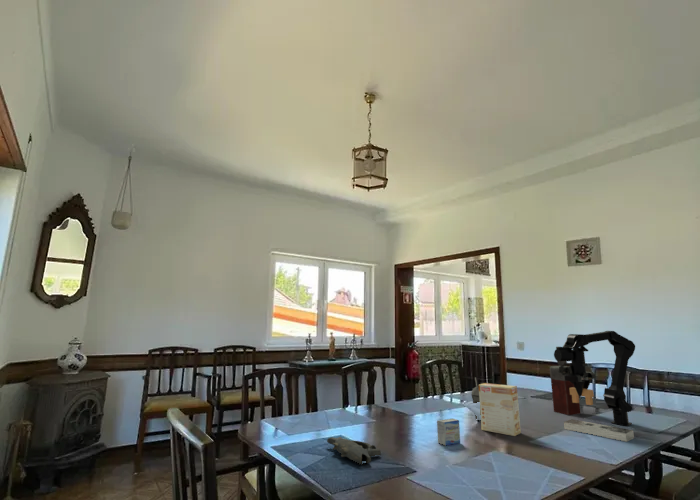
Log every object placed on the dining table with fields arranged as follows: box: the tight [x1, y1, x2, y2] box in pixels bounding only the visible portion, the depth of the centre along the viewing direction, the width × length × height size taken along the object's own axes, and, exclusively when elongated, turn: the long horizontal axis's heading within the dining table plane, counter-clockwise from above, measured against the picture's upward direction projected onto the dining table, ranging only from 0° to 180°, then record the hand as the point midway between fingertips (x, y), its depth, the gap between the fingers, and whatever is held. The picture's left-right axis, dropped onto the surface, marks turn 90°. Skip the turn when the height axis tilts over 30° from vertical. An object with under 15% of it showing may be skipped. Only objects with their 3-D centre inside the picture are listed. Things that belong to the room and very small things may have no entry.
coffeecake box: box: [478, 382, 522, 437], centre depth 172 cm, size 15×7×20 cm, turn 47°
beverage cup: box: [470, 377, 480, 420], centre depth 192 cm, size 7×7×20 cm
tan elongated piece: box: [326, 436, 382, 465], centre depth 142 cm, size 5×25×15 cm
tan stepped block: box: [569, 387, 595, 406], centre depth 182 cm, size 4×9×6 cm, turn 36°
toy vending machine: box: [549, 360, 582, 416], centre depth 208 cm, size 9×11×28 cm
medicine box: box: [436, 418, 461, 447], centre depth 155 cm, size 8×4×9 cm, turn 117°
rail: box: [563, 419, 635, 443], centre depth 167 cm, size 8×24×3 cm, turn 37°
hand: (581, 395), depth 182 cm, fingers closed on tan stepped block, 3 cm apart
